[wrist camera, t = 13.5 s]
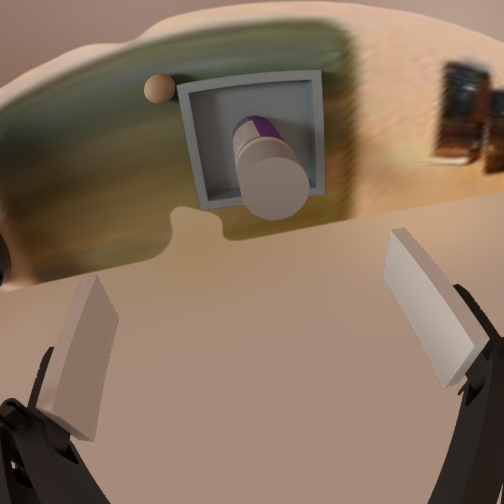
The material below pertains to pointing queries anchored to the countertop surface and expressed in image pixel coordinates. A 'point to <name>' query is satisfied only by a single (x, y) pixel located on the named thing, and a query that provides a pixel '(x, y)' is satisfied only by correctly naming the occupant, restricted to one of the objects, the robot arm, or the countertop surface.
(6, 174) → the countertop surface
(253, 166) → the container
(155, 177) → the countertop surface
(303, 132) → the tray
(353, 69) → the countertop surface
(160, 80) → the ball
